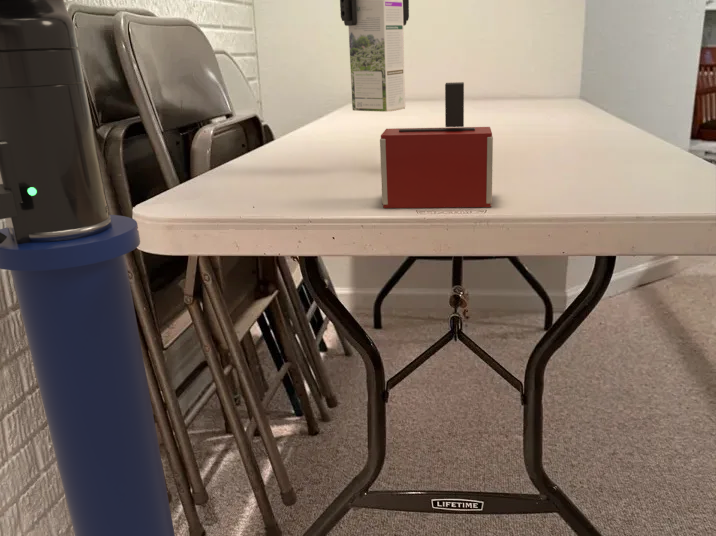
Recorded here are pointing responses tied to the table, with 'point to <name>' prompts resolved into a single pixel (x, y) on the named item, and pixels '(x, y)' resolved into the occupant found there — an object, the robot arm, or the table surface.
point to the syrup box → (377, 56)
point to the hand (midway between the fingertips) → (376, 25)
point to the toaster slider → (454, 104)
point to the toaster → (436, 167)
